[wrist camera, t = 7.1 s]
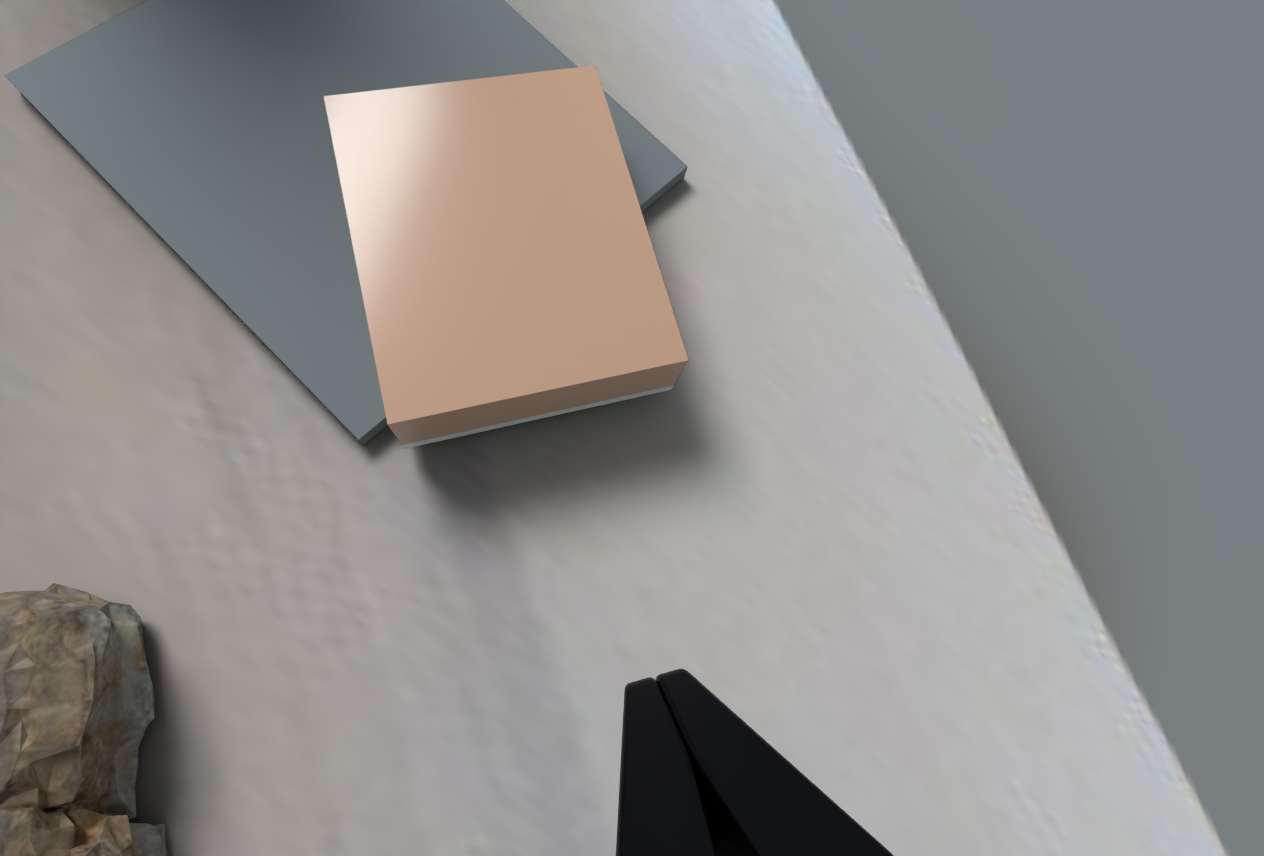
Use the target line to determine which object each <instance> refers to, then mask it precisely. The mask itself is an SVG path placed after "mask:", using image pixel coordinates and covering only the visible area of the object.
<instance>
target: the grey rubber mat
mask: <svg viewBox="0 0 1264 856" xmlns="http://www.w3.org/2000/svg"><path fill="white" fill-rule="evenodd" d="M576 67H577V66H576V65H575V64H574V63H573V62H572V61H570V60H569V59H568V58H567V57H566V56H565V55H564V54H563V53H562V52H560V51H559V50H558V49H557V48H556V47H555V46H554V45H553V44H552V43H551V42H549V41H548V40H547V39H546V38H545V37H544V36H543V35H542V34H541V33H539V32H538V31H537V30H536V29H535V28H534V27H533V26H532V25H531V24H529V23H528V22H527V21H526V20H525V19H524V18H523V17H522V16H521V15H520V14H518V13H517V12H516V11H515V10H514V9H513V8H512V7H511V6H510V5H508V4H507V3H506V2H505V1H504V0H146V1H144V2H142V3H141V4H139V5H137V6H135V7H133V8H131V9H129V10H127V11H125V12H124V13H122V14H120V15H118V16H116V17H114V18H112V19H110V20H108V21H106V22H105V23H103V24H101V25H99V26H97V27H95V28H93V29H91V30H89V31H88V32H86V33H84V34H82V35H80V36H78V37H76V38H74V39H72V40H71V41H69V42H67V43H65V44H63V45H61V46H59V47H57V48H55V49H54V50H52V51H50V52H48V53H46V54H44V55H42V56H40V57H38V58H37V59H35V60H33V61H31V62H29V63H27V64H25V65H23V66H21V67H19V68H18V69H16V70H14V71H12V72H10V73H8V74H6V75H4V76H5V77H6V78H7V79H8V80H9V81H10V82H11V83H12V84H13V85H14V86H15V87H16V88H17V89H18V90H19V91H20V92H21V93H22V94H23V96H24V97H25V98H26V99H27V100H28V101H29V102H30V103H31V104H32V105H33V106H34V107H35V108H36V109H37V110H38V111H39V112H40V113H41V114H42V115H43V116H44V117H45V118H46V119H47V120H48V121H49V122H50V123H51V124H52V125H53V126H54V127H55V128H56V129H57V131H58V132H59V133H60V134H61V135H62V136H63V137H64V138H65V139H66V140H67V141H68V142H69V143H70V144H71V145H72V146H73V147H74V148H75V149H76V150H77V151H78V152H79V153H80V154H81V155H82V156H83V157H84V158H85V159H86V160H87V161H88V162H89V163H90V164H91V165H92V167H93V168H94V169H95V170H96V171H97V172H98V173H99V174H100V175H101V176H102V177H103V178H104V179H105V180H106V181H107V182H108V183H109V184H110V185H111V186H112V187H113V188H114V189H115V190H116V191H117V192H118V193H119V194H120V195H121V196H122V197H123V198H124V199H125V200H126V202H127V203H128V204H129V205H130V206H131V207H132V208H133V209H134V210H135V211H136V212H137V213H138V214H139V215H140V216H141V217H142V218H143V219H144V220H145V221H146V222H147V223H148V224H149V225H150V226H151V227H152V228H153V229H154V230H155V231H156V232H157V233H158V234H159V235H160V236H161V238H162V239H163V240H164V241H165V242H166V243H167V244H168V245H169V246H170V247H171V248H172V249H173V250H174V251H175V252H176V253H177V254H178V255H179V256H180V257H181V258H182V259H183V260H184V261H185V262H186V263H187V264H188V265H189V266H190V267H191V268H192V269H193V270H194V271H195V272H196V274H197V275H198V276H199V277H200V278H201V279H202V280H203V281H204V282H205V283H206V284H207V285H208V286H209V287H210V288H211V289H212V290H213V291H214V292H215V293H216V294H217V295H218V296H219V297H220V298H221V299H222V300H223V301H224V302H225V303H226V304H227V305H228V306H229V307H230V309H231V310H232V311H233V312H234V313H235V314H236V315H237V316H238V317H239V318H240V319H241V320H242V321H243V322H244V323H245V324H246V325H247V326H248V327H249V328H250V329H251V330H252V331H253V332H254V333H255V334H256V335H257V336H258V337H259V338H260V339H261V340H262V341H263V342H264V343H265V345H266V346H267V347H268V348H269V349H270V350H271V351H272V352H273V353H274V354H275V355H276V356H277V357H278V358H279V359H280V360H281V361H282V362H283V363H284V364H285V365H286V366H287V367H288V368H289V369H290V370H291V371H292V372H293V373H294V374H295V375H296V376H297V377H298V378H299V380H300V381H301V382H302V383H303V384H304V385H305V386H306V387H307V388H308V389H309V390H310V391H311V392H312V393H313V394H314V395H315V396H316V397H317V398H318V399H319V400H320V401H321V402H322V403H323V404H324V405H325V406H326V407H327V408H328V409H329V410H330V411H331V412H332V413H333V414H334V416H335V417H336V418H337V419H338V420H339V421H340V422H341V423H342V424H343V425H344V426H345V427H346V428H347V429H348V430H349V431H350V432H351V433H352V434H353V435H354V436H355V437H356V438H357V439H358V440H359V441H360V442H361V443H362V444H363V445H365V444H366V443H367V442H368V441H369V440H370V439H372V438H373V437H374V436H375V435H376V434H378V433H379V432H380V431H381V430H382V429H384V428H385V427H386V426H387V419H386V414H385V409H384V404H383V399H382V394H381V389H380V383H379V378H378V373H377V368H376V363H375V358H374V353H373V347H372V342H371V337H370V332H369V327H368V322H367V317H366V311H365V306H364V301H363V296H362V291H361V286H360V281H359V275H358V270H357V265H356V260H355V255H354V250H353V245H352V239H351V234H350V229H349V224H348V219H347V214H346V209H345V203H344V198H343V193H342V188H341V183H340V178H339V173H338V167H337V162H336V157H335V152H334V147H333V142H332V137H331V131H330V126H329V121H328V116H327V111H326V106H325V101H324V96H330V95H339V94H348V93H357V92H365V91H374V90H383V89H392V88H401V87H409V86H418V85H427V84H436V83H444V82H453V81H462V80H471V79H480V78H488V77H497V76H506V75H515V74H523V73H532V72H541V71H550V70H559V69H567V68H576ZM603 91H604V90H603ZM604 95H605V98H606V101H607V104H608V107H609V110H610V114H611V117H612V120H613V123H614V126H615V129H616V133H617V136H618V139H619V142H620V145H621V148H622V152H623V155H624V158H625V161H626V164H627V167H628V171H629V174H630V177H631V180H632V183H633V186H634V190H635V193H636V196H637V199H638V202H639V205H640V209H641V212H643V211H644V210H646V209H647V208H648V207H649V206H650V205H651V204H653V203H654V202H655V201H656V200H657V199H659V198H660V197H661V196H662V195H663V194H665V193H666V192H667V191H668V190H669V189H671V188H672V187H673V186H674V185H675V184H677V183H678V182H679V181H680V180H681V179H683V178H684V176H685V173H686V170H687V167H688V166H687V165H686V164H685V163H683V162H682V161H681V160H680V159H679V158H678V157H677V156H676V155H675V154H673V153H672V152H671V151H670V150H669V149H668V148H667V147H666V146H665V145H663V144H662V143H661V142H660V141H659V140H658V139H657V138H656V137H655V136H654V135H652V134H651V133H650V132H649V131H648V130H647V129H646V128H645V127H644V126H642V125H641V124H640V123H639V122H638V121H637V120H636V119H635V118H634V117H632V116H631V115H630V114H629V113H628V112H627V111H626V110H625V109H624V108H623V107H621V106H620V105H619V104H618V103H617V102H616V101H615V100H614V99H613V98H611V97H610V96H609V95H608V94H607V93H606V92H605V91H604Z"/></svg>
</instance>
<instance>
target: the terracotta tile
mask: <svg viewBox="0 0 1264 856" xmlns="http://www.w3.org/2000/svg"><path fill="white" fill-rule="evenodd" d="M324 101H325V106H326V111H327V116H328V121H329V126H330V131H331V137H332V142H333V147H334V152H335V157H336V162H337V167H338V173H339V178H340V183H341V188H342V193H343V198H344V203H345V209H346V214H347V219H348V224H349V229H350V234H351V239H352V245H353V250H354V255H355V260H356V265H357V270H358V275H359V281H360V286H361V291H362V296H363V301H364V306H365V311H366V317H367V322H368V327H369V332H370V337H371V342H372V347H373V353H374V358H375V363H376V368H377V373H378V378H379V383H380V389H381V394H382V399H383V404H384V409H385V414H386V419H387V425H388V426H389V427H390V429H391V430H392V432H393V433H394V434H395V436H396V437H397V439H398V440H399V441H400V443H401V444H402V446H403V447H404V449H406V448H411V447H415V446H420V445H424V444H429V443H433V442H438V441H442V440H447V439H451V438H456V437H460V436H465V435H469V434H474V433H479V432H483V431H488V430H492V429H497V428H501V427H506V426H510V425H515V424H519V423H524V422H528V421H533V420H537V419H542V418H546V417H551V416H555V415H560V414H564V413H569V412H573V411H578V410H582V409H587V408H591V407H596V406H600V405H605V404H609V403H614V402H618V401H623V400H627V399H632V398H636V397H641V396H645V395H650V394H654V393H659V392H663V391H668V390H671V389H672V388H673V386H674V384H675V382H676V381H677V379H678V377H679V376H680V374H681V372H682V370H683V369H684V367H685V365H686V364H687V362H688V357H687V354H686V351H685V348H684V345H683V342H682V338H681V335H680V332H679V329H678V326H677V323H676V319H675V316H674V313H673V310H672V307H671V304H670V300H669V297H668V294H667V291H666V288H665V285H664V281H663V278H662V275H661V272H660V269H659V266H658V262H657V259H656V256H655V253H654V250H653V247H652V243H651V240H650V237H649V234H648V231H647V228H646V224H645V221H644V218H643V215H642V212H641V209H640V205H639V202H638V199H637V196H636V193H635V190H634V186H633V183H632V180H631V177H630V174H629V171H628V167H627V164H626V161H625V158H624V155H623V152H622V148H621V145H620V142H619V139H618V136H617V133H616V129H615V126H614V123H613V120H612V117H611V114H610V110H609V107H608V104H607V101H606V98H605V95H604V91H603V88H602V85H601V82H600V79H599V76H598V72H597V69H596V66H595V65H594V66H585V67H576V68H567V69H559V70H550V71H541V72H532V73H523V74H515V75H506V76H497V77H488V78H480V79H471V80H462V81H453V82H444V83H436V84H427V85H418V86H409V87H401V88H392V89H383V90H374V91H365V92H357V93H348V94H339V95H330V96H324Z"/></svg>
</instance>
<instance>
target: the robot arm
mask: <svg viewBox="0 0 1264 856" xmlns="http://www.w3.org/2000/svg"><path fill="white" fill-rule="evenodd" d="M616 856H893V855H892V853H890V852H889V851H888V850H887V849H886V848H885V847H884V846H883V845H882V844H880V843H879V842H878V841H877V840H876V839H875V838H874V837H873V836H871V835H870V834H869V833H868V832H867V831H866V830H865V829H864V828H862V827H861V826H860V825H859V824H858V823H857V822H856V821H855V820H854V819H852V818H851V817H850V816H849V815H848V814H847V813H846V812H845V811H843V810H842V809H841V808H840V807H839V806H838V805H837V804H836V803H835V802H833V801H832V800H831V799H830V798H829V797H828V796H827V795H826V794H824V793H823V792H822V791H821V790H820V789H819V788H818V787H817V786H815V785H814V784H813V783H812V782H811V781H810V780H809V779H808V778H807V777H805V776H804V775H803V774H802V773H801V772H800V771H799V770H798V769H796V768H795V767H794V766H793V765H792V764H791V763H790V762H789V761H788V760H786V759H785V758H784V757H783V756H782V755H781V754H780V753H779V752H777V751H776V750H775V749H774V748H773V747H772V746H771V745H770V744H768V743H767V742H766V741H765V740H764V739H763V738H762V737H761V736H760V735H758V734H757V733H756V732H755V731H754V730H753V729H752V728H751V727H749V726H748V725H747V724H746V723H745V722H744V721H743V720H742V719H741V718H739V717H738V716H737V715H736V714H735V713H734V712H733V711H732V710H730V709H729V708H728V707H727V706H726V705H725V704H724V703H723V702H721V701H720V700H719V699H718V698H717V697H716V696H715V695H714V694H713V693H711V692H710V691H709V690H708V689H707V688H706V687H705V686H704V685H702V684H701V683H700V682H699V681H698V680H697V679H696V678H695V677H694V676H692V675H691V674H690V673H689V672H688V671H686V670H684V669H677V670H674V671H670V672H667V673H663V674H660V675H658V676H657V677H656V680H655V679H654V678H646V679H642V680H639V681H635V682H632V683H629V684H627V685H626V687H625V694H624V713H623V731H622V750H621V769H620V788H619V807H618V825H617V844H616Z"/></svg>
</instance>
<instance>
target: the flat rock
mask: <svg viewBox="0 0 1264 856" xmlns="http://www.w3.org/2000/svg"><path fill="white" fill-rule="evenodd" d="M154 718H155V716H154V691H153V685H152V681H151V677H150V673H149V669H148V665H147V661H146V653H145V646H144V639H143V631H142V624H141V618H140V616H139V615H138V614H137V613H136V612H135V610H134V609H133V608H132V607H131V606H130V605H125V604H118V603H111V602H108V601H106V600H103V599H101V598H99V597H97V596H95V595H92V594H90V593H88V592H84V591H80V590H76V589H73V588H69V587H65V586H62V585H58V584H54V583H53V584H52V585H51V586H50V587H48V588H47V589H46V590H45V591H23V592H5V593H2V594H0V856H168V854H167V847H166V835H165V831H166V826H165V824H158V825H151V824H149V823H130V822H131V821H132V820H133V819H134V818H135V817H136V799H135V782H136V776H137V770H138V746H139V744H140V742H141V740H142V737H143V735H144V733H145V731H146V728H147V726H148V724H149V723H150V722H151V721H152V720H153V719H154Z"/></svg>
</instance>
